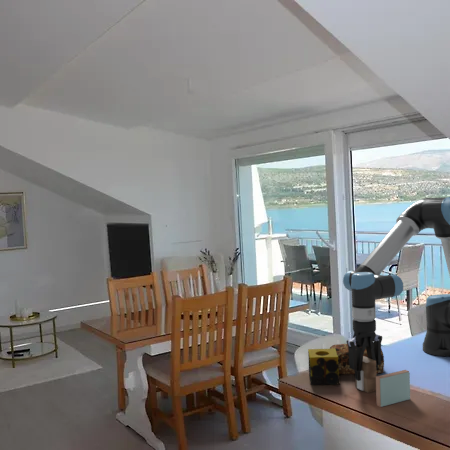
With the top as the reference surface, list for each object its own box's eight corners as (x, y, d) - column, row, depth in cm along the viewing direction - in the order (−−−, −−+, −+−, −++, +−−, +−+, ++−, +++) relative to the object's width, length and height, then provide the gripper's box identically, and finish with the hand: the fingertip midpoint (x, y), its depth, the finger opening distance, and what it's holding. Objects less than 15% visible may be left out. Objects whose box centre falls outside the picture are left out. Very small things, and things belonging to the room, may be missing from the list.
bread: (379, 365, 193) (378, 339, 192) (385, 375, 182) (384, 348, 182) (329, 365, 195) (328, 340, 194) (332, 375, 184) (331, 348, 184)
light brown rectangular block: (364, 384, 174) (363, 356, 173) (376, 390, 168) (376, 360, 168) (355, 387, 172) (354, 358, 172) (367, 392, 167) (366, 362, 166)
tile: (406, 397, 162) (405, 369, 161) (410, 399, 160) (410, 371, 159) (376, 405, 157) (375, 376, 156) (381, 407, 155) (380, 378, 154)
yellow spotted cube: (336, 375, 184) (336, 348, 184) (340, 385, 174) (339, 356, 174) (308, 375, 185) (307, 348, 185) (310, 385, 175) (309, 357, 175)
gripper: (350, 325, 162) (352, 396, 163) (391, 317, 169) (393, 386, 170) (336, 320, 169) (338, 389, 170) (376, 313, 176) (378, 379, 177)
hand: (366, 387), depth 170 cm, fingers closed on light brown rectangular block, 4 cm apart
